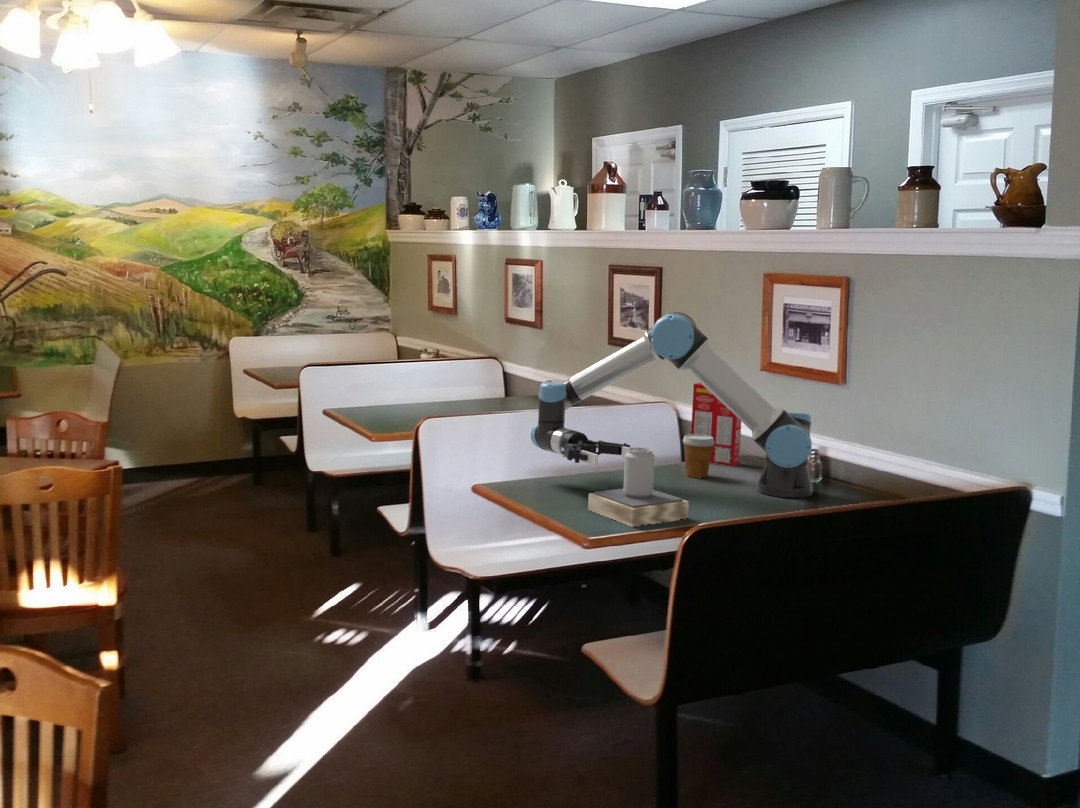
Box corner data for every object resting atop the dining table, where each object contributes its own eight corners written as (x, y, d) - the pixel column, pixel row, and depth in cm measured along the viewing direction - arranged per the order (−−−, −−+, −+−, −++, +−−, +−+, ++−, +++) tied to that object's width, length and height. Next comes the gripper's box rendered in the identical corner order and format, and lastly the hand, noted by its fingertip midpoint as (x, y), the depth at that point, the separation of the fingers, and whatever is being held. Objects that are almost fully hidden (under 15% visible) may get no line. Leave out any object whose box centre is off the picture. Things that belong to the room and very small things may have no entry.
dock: (642, 503, 279) (643, 484, 278) (687, 518, 264) (688, 499, 263) (587, 510, 269) (588, 491, 268) (631, 527, 254) (632, 507, 253)
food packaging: (738, 463, 336) (743, 386, 333) (733, 466, 332) (738, 388, 328) (695, 457, 343) (699, 382, 339) (689, 460, 339) (693, 383, 335)
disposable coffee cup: (713, 474, 319) (715, 435, 317) (711, 480, 310) (713, 440, 308) (682, 471, 321) (684, 433, 319) (679, 478, 312) (681, 438, 310)
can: (651, 499, 262) (653, 452, 260) (621, 497, 263) (623, 450, 261) (653, 493, 269) (656, 447, 267) (624, 491, 270) (626, 445, 268)
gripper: (605, 453, 297) (654, 467, 279) (532, 460, 283) (578, 476, 266) (607, 427, 296) (655, 440, 278) (533, 433, 282) (579, 447, 264)
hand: (617, 457), depth 272 cm, fingers open, 13 cm apart
